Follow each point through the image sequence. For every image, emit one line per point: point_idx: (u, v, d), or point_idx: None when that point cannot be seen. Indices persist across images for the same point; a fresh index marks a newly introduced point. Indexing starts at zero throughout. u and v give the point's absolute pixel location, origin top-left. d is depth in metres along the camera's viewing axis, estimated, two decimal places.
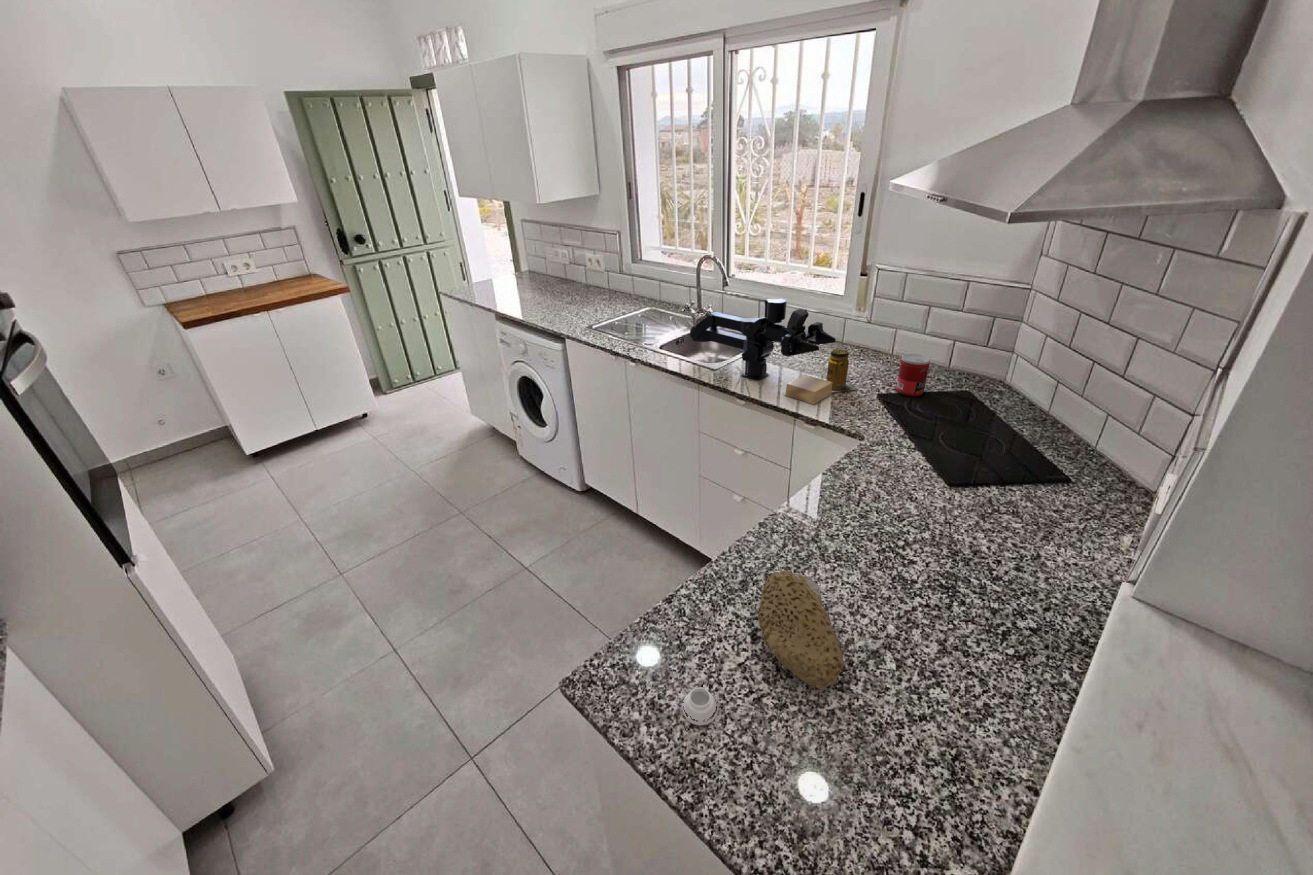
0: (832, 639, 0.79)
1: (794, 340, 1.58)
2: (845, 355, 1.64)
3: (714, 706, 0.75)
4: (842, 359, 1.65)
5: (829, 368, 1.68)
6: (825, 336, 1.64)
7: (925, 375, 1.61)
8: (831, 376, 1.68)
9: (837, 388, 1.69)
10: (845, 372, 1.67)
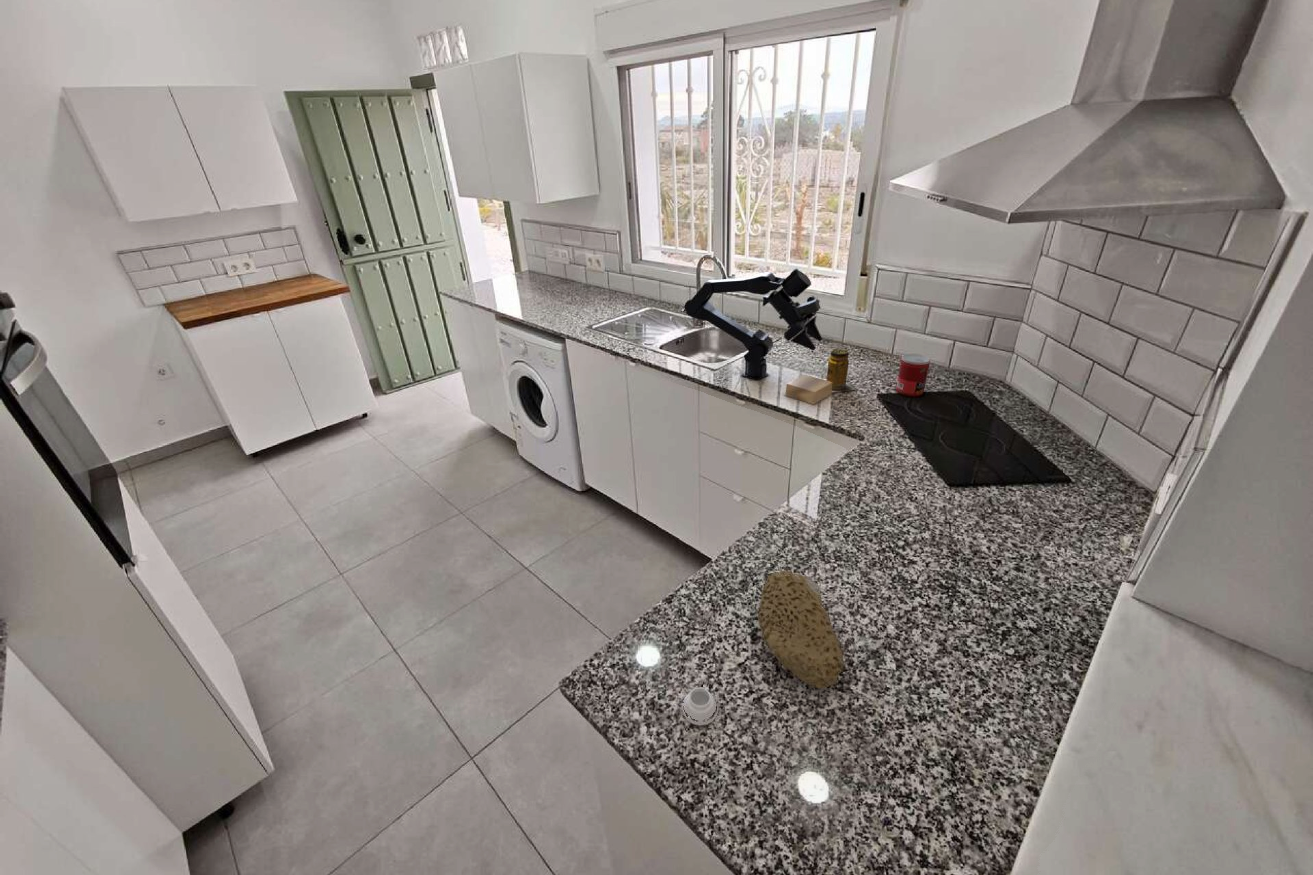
0: (832, 639, 0.79)
1: (803, 332, 1.61)
2: (845, 355, 1.64)
3: (714, 706, 0.75)
4: (842, 359, 1.65)
5: (829, 368, 1.68)
6: (815, 331, 1.72)
7: (925, 375, 1.61)
8: (831, 377, 1.68)
9: (837, 388, 1.69)
10: (845, 372, 1.67)
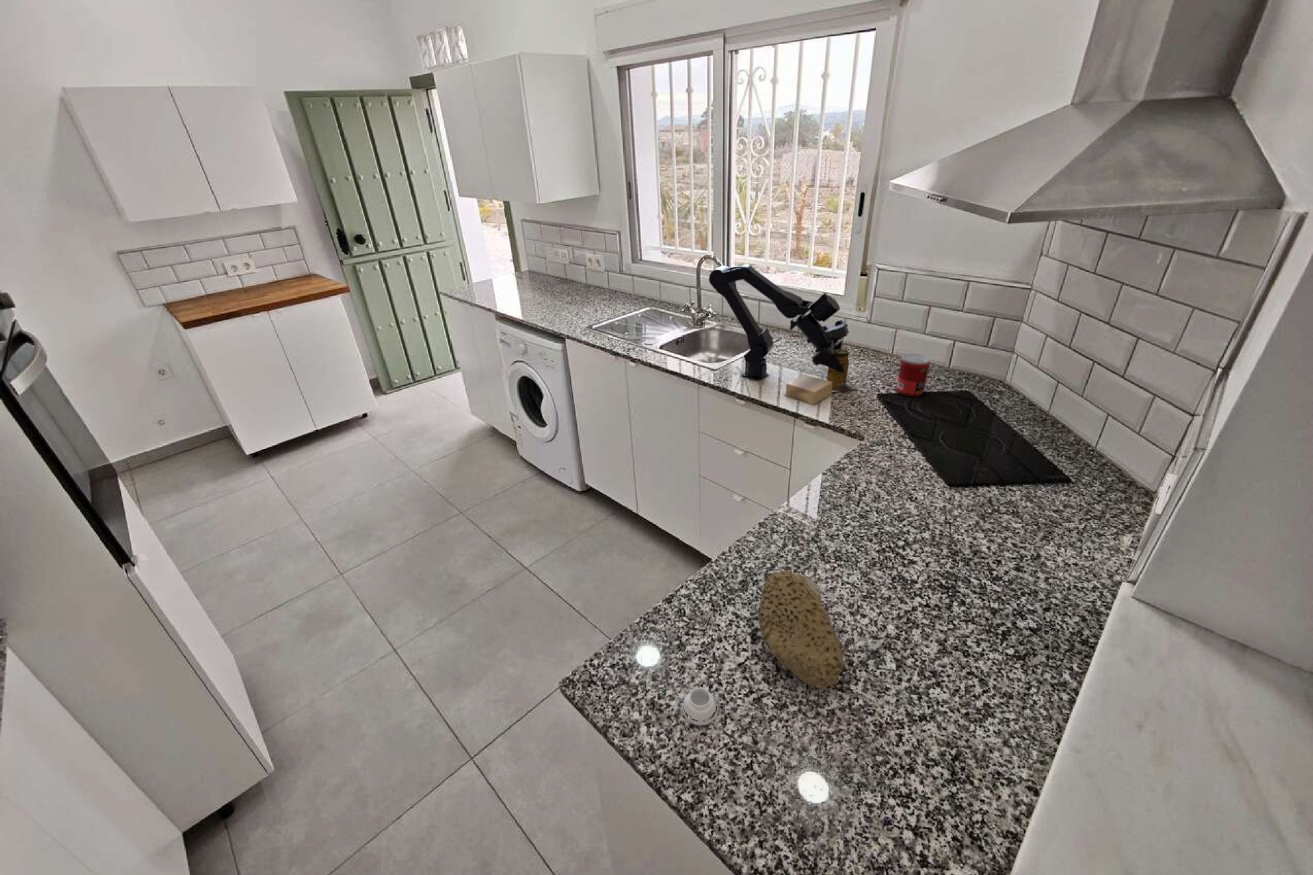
0: (832, 639, 0.79)
1: (832, 355, 1.62)
2: (845, 355, 1.65)
3: (714, 706, 0.75)
4: (842, 359, 1.65)
5: (829, 367, 1.68)
6: None
7: (925, 375, 1.61)
8: (832, 376, 1.68)
9: (837, 387, 1.69)
10: (846, 372, 1.67)
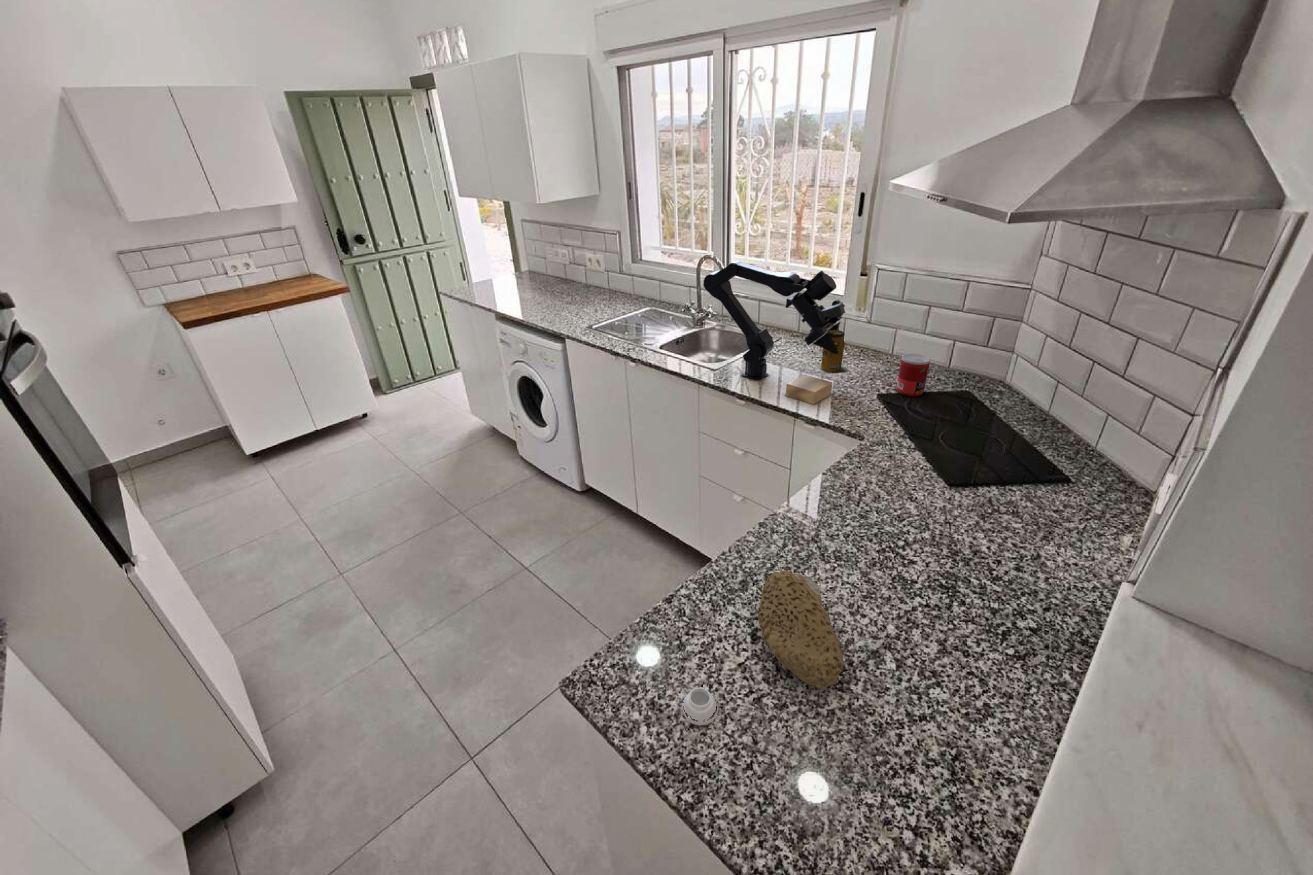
0: (832, 639, 0.79)
1: (826, 335, 1.58)
2: (840, 336, 1.60)
3: (714, 706, 0.75)
4: (837, 340, 1.60)
5: None
6: None
7: (925, 375, 1.61)
8: (826, 357, 1.64)
9: (831, 369, 1.65)
10: (840, 354, 1.63)
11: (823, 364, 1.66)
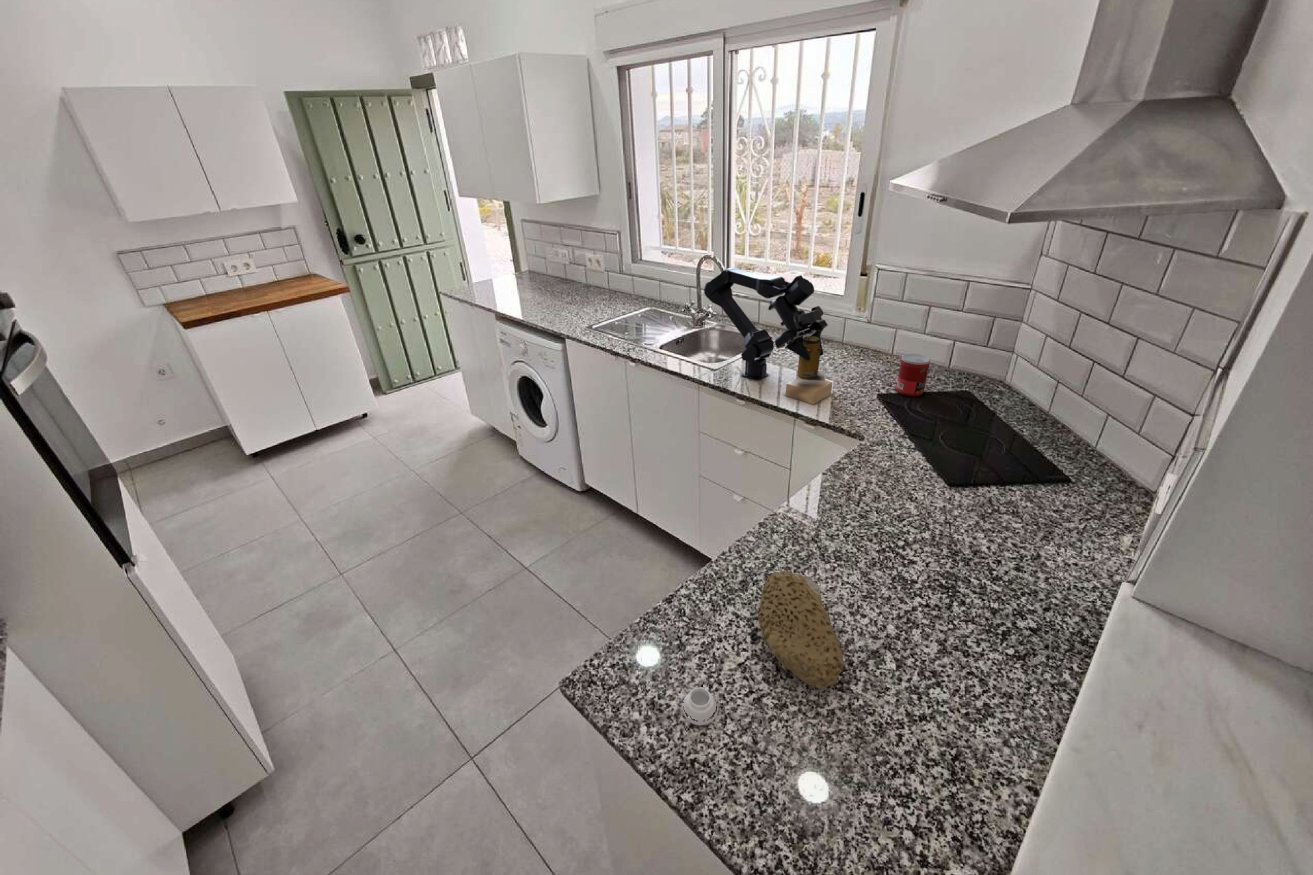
0: (832, 639, 0.79)
1: (795, 340, 1.57)
2: (813, 342, 1.58)
3: (714, 706, 0.75)
4: (810, 346, 1.58)
5: None
6: None
7: (925, 375, 1.61)
8: (800, 363, 1.63)
9: (804, 376, 1.63)
10: (814, 361, 1.60)
11: (798, 370, 1.65)
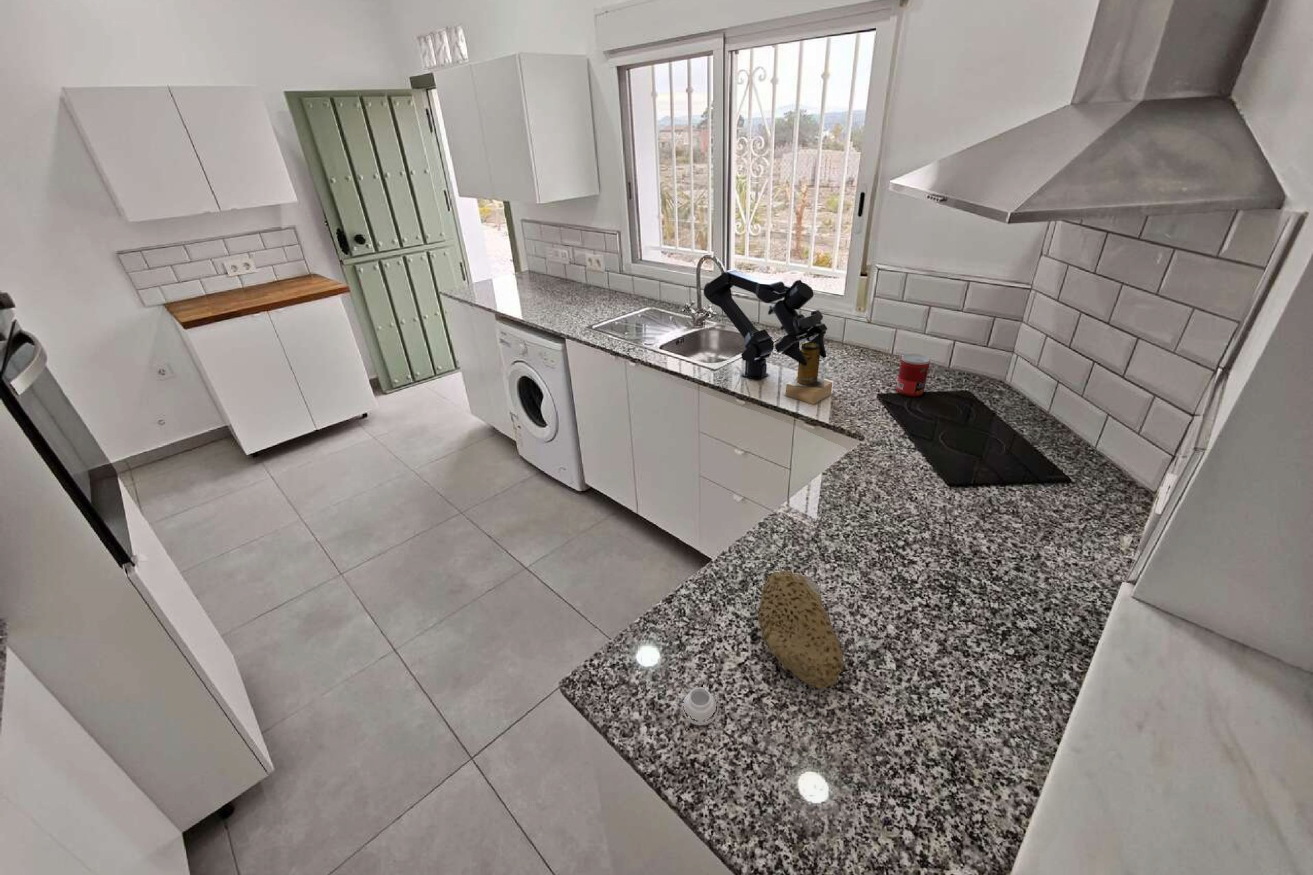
0: (832, 639, 0.79)
1: (792, 346, 1.57)
2: (812, 349, 1.59)
3: (714, 706, 0.75)
4: (809, 352, 1.59)
5: None
6: (820, 347, 1.64)
7: (925, 375, 1.61)
8: (799, 369, 1.64)
9: (803, 382, 1.64)
10: (813, 367, 1.61)
11: (798, 376, 1.65)
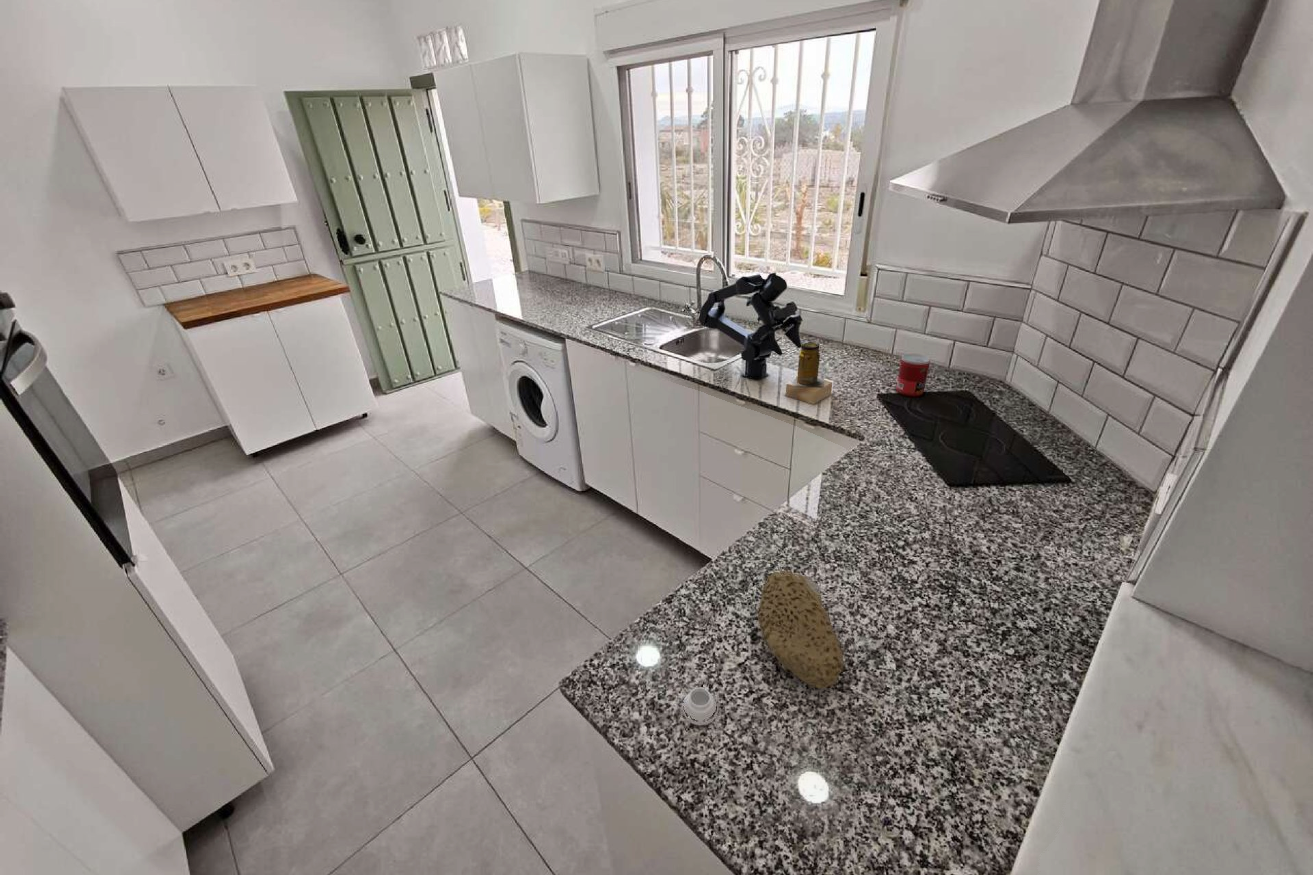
0: (832, 639, 0.79)
1: (767, 336, 1.63)
2: (812, 349, 1.59)
3: (714, 706, 0.75)
4: (809, 352, 1.59)
5: None
6: (795, 337, 1.70)
7: (925, 375, 1.61)
8: (799, 369, 1.64)
9: (803, 382, 1.64)
10: (813, 367, 1.61)
11: (798, 376, 1.65)
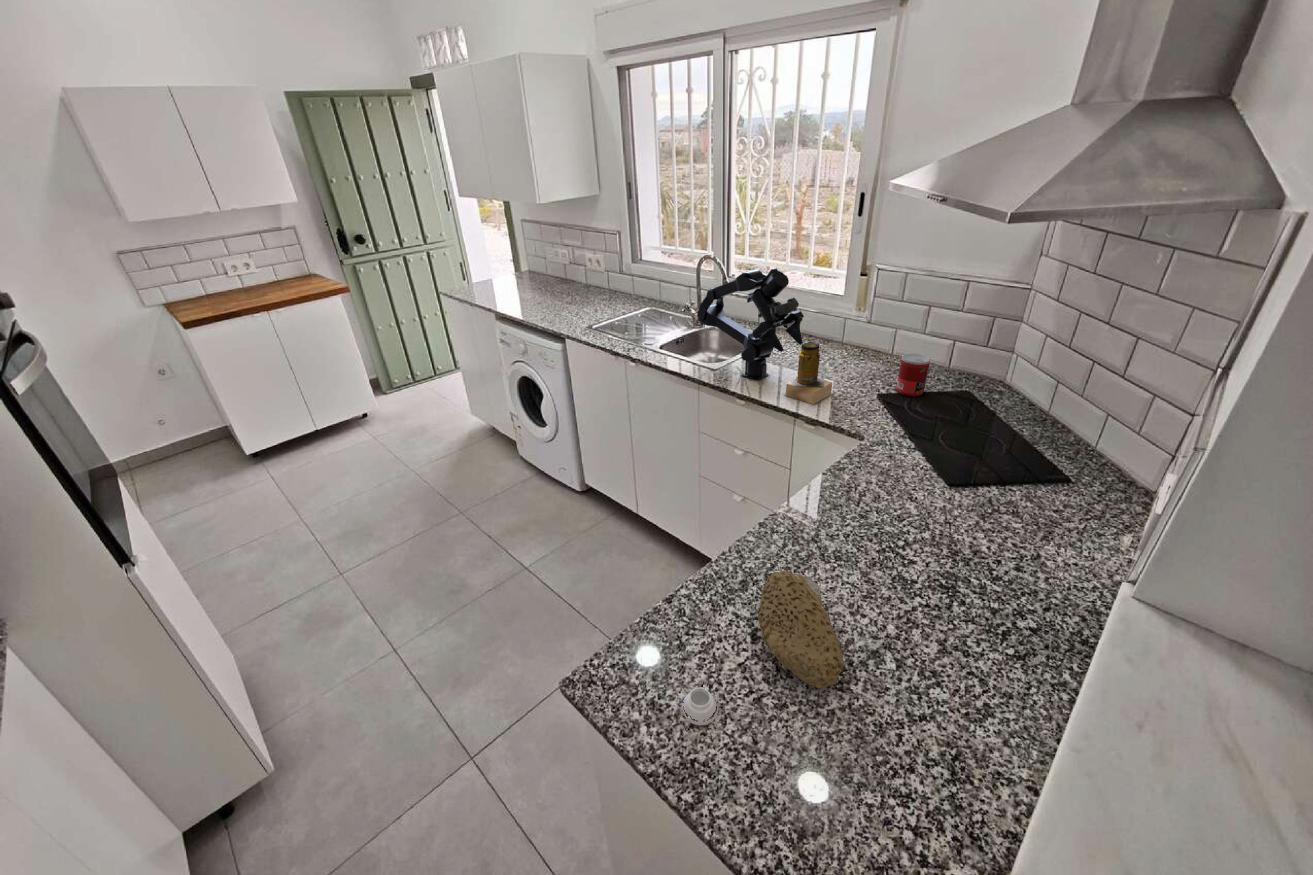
0: (832, 639, 0.79)
1: (768, 332, 1.62)
2: (812, 349, 1.59)
3: (714, 706, 0.75)
4: (809, 352, 1.59)
5: (799, 360, 1.64)
6: (797, 333, 1.69)
7: (925, 375, 1.61)
8: (799, 369, 1.64)
9: (803, 382, 1.64)
10: (813, 367, 1.61)
11: (798, 376, 1.65)
